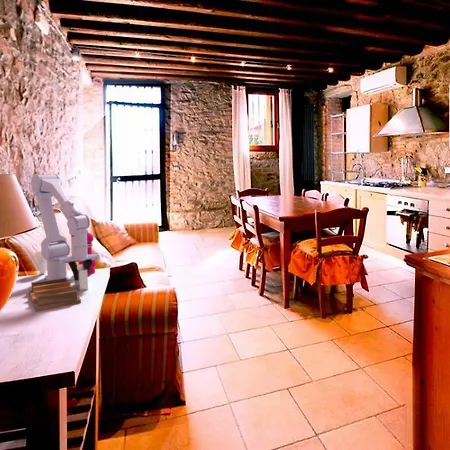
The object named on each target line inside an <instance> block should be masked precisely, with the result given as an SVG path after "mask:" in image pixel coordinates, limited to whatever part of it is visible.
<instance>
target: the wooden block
mask: <svg viewBox="0 0 450 450" xmlns="http://www.w3.org/2000/svg"><path fill="white" fill-rule="evenodd" d="M88 276H89V275H88ZM88 276H87V269H86V268H85V267H84V266H83V265H82V264H80V265H79V264H77V281H75V279H73V280H74V285H75V287H76V288H77V290H79V292H81V291H82V292H83V291H87V290H89V279H88V278H89V277H88Z"/></svg>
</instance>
